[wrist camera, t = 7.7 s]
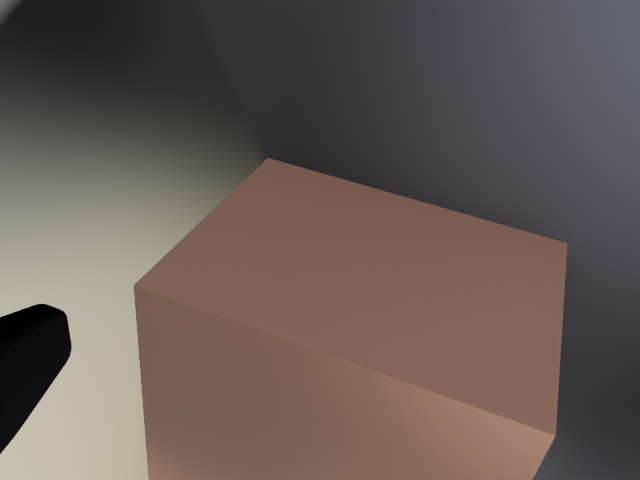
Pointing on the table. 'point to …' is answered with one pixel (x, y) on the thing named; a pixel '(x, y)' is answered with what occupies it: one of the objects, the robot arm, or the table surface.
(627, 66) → the table surface
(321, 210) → the terracotta block
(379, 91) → the table surface
